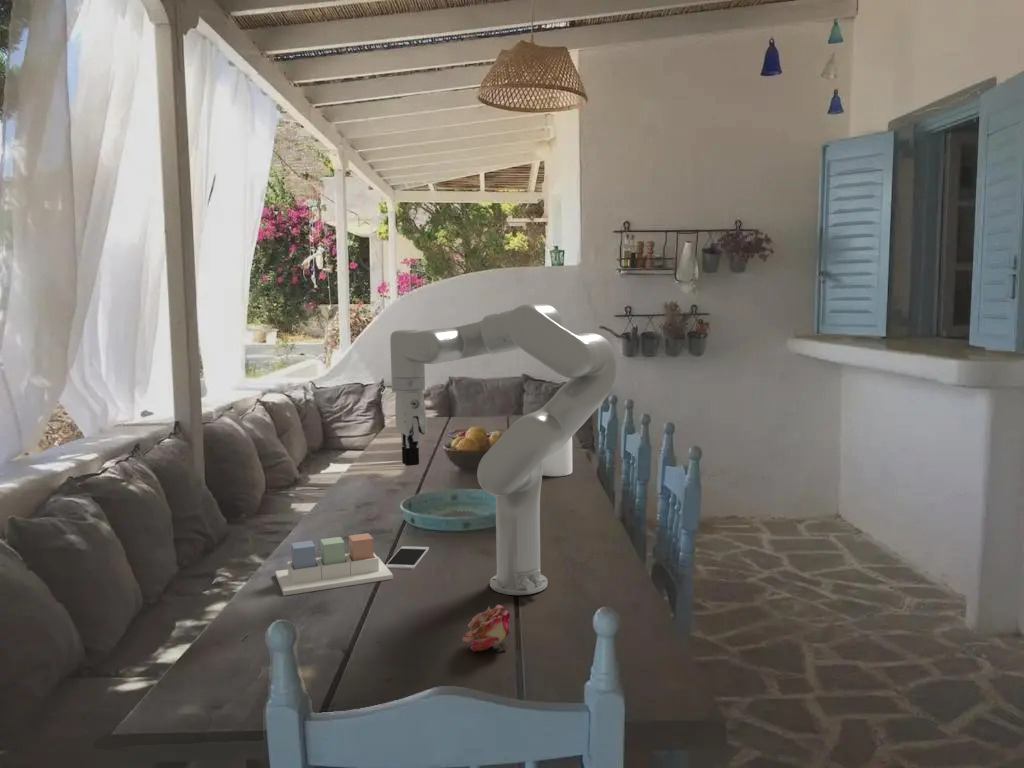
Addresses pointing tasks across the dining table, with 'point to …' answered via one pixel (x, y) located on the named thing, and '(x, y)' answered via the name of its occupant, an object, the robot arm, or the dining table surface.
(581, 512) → the dining table surface
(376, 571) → the board
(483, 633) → the flower
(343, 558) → the sage button
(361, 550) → the terracotta button
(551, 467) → the white jar
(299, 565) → the slate button
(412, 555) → the smartphone
